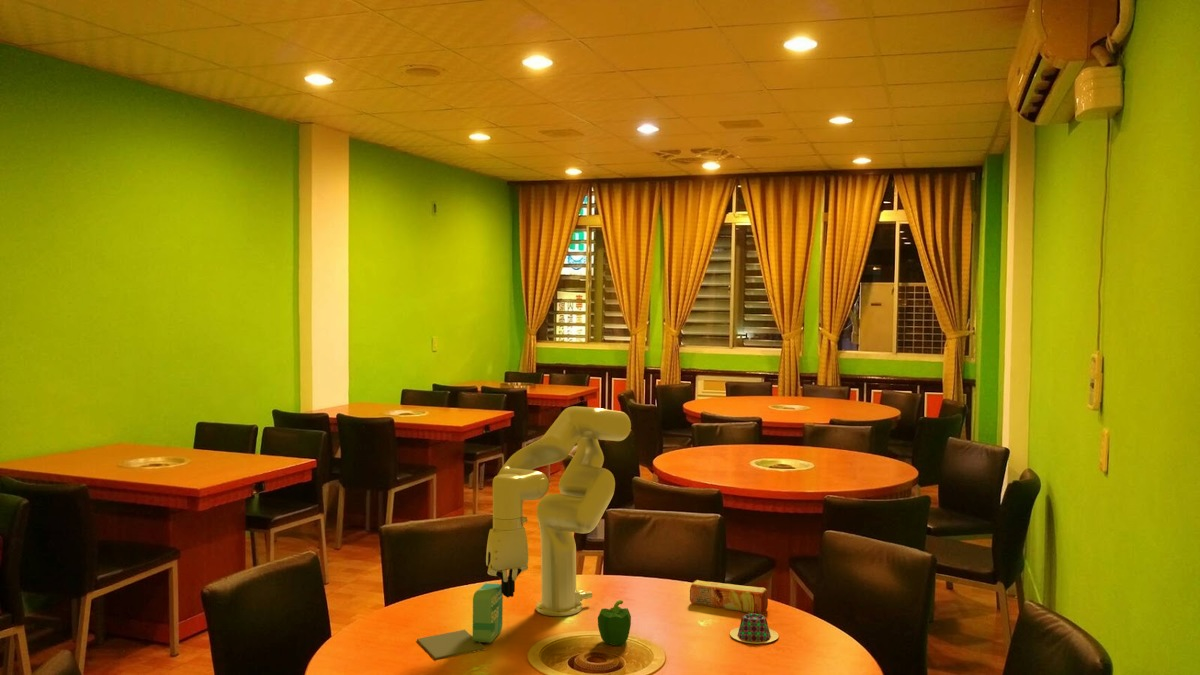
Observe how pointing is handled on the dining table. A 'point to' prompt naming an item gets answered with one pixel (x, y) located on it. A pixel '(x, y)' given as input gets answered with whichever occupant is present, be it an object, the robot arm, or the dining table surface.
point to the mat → (450, 644)
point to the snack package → (729, 596)
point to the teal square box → (487, 612)
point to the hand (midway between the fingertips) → (508, 595)
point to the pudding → (754, 630)
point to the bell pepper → (614, 624)
